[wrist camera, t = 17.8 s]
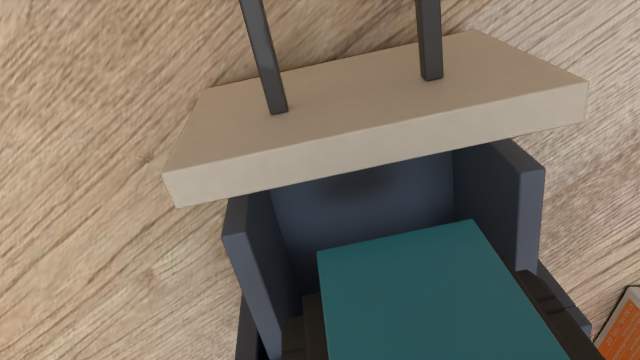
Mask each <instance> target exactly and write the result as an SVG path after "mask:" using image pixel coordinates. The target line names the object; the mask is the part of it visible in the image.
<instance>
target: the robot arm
mask: <svg viewBox="0 0 640 360" xmlns="http://www.w3.org/2000/svg"><path fill="white" fill-rule="evenodd" d="M499 258H500V259H501V260H502V262H503V263H504V265H505V266H506V268H507V269H508V271H509V272H510V273H511V275H512V276H513V278H514V279H515V281H516V282H517V283H518V285H519V286H520V288H521V289H522V291H523V292H524V294H525V295H526V296H527V298H528V299H529V301H530V302H531V304H532V305H533V307H534V308H535V309H536V311H537V312H538V314H539V315H540V317H541V318H542V319H543V321H544V322H545V324H546V325H547V327H548V328H549V330H550V331H551V332H552V334H553V335H554V337H555V338H556V340H557V341H558V342H559V344H560V345H561V347H562V348H563V350H564V351H565V353H566V354H567V355H568V357H569V358H570V360H606V359H605V358H604V357H603V356H602V354H601V353H600V352H599V351H598V349H597V348H596V347H595V345H594V344H593V343H592V342H591V340H590V339H589V338H588V336H587V335H586V334H585V333H584V331H583V330H582V329H581V327H580V326H579V325H578V324H577V322H576V321H575V320H574V318H573V317H572V316H571V315H570V313H569V312H568V311H566V310H565V307H564V306H563V304H562V303H561V302H560V300H559V299H558V298H556V296H555V294H554V293H553V291H552V290H551V289H550V288H549V286H548V285H547V284H546V282H545V281H544V280H542V279H541V278H539V277H538V276H536V275H535V274H533V273H532V272H530V271H529V270H527V269H525V270H521V271H515V270H514V268H513V267H512V265H511V264H510V263H509V261H508V260H507V258H506V257H505V256H503V255H500V256H499ZM281 351H282V354H281V360H329V356H328V347H327V339H326V330H325V322H324V314H323V305H322V297H321V292H320V293H315V294H310V295H305V296H303V315H300V316H295V317H291V318H288V320H287V322H286V324H285V327H284V329H283V331H282V334H281Z"/></svg>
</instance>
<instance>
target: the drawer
mask: <svg viewBox="0 0 640 360" xmlns="http://www.w3.org/2000/svg"><path fill="white" fill-rule="evenodd" d="M239 2H240V6H241V10H242V13H243V17H244V21H245V24H246V28H247V32H248V35H249V39H250V43H251V46H252V50H253V54H254V57H255V61H256V65H257V68H258V72H259V76H260V77H257V78H253V79H248V80H244V81H239V82H235V83H230V84H226V85H221V86H217V87H212V88H208V89H204V90H203V91H202V93H201V95H200V97H199V99H198V101H197V103H196V105H195V107H194V109H193V111H192V113H191V115H190V117H189V119H188V121H187V123H186V125H185V127H184V129H183V131H182V133H181V135H180V137H179V139H178V141H177V143H176V145H175V146H174V148H173V150H172V152H171V154H170V156H169V158H168V160H167V162H166V164H165V166H164V168H163V170H162V172H161V176H162V178H163V181H164V183H165V185H166V187H167V190H168V192H169V194H170V196H171V198H172V201H173V203H174V205H175V207H176V209H179V208H184V207H189V206H193V205H198V204H203V203H207V202H212V201H217V200H221V199H226V198H229V199H228V204H227V209H226V214H225V219H224V224H223V229H222V235H221V239H222V242H223V244H224V247H225V249H226V252H227V254H228V257H229V259H230V262H231V264H232V267H233V269H234V272H235V274H236V277H237V279H238V282H239V284H240V287H241V289H242V292H243V294H244V297H245V299H246V302H247V304H248V307H249V309H250V312H251V314H252V316H253V319H254V321H255V324H256V326H257V329H258V331H259V334H260V336H261V339H262V341H263V344H264V346H265V349H266V351H267V354H268V356H269V359H270V360H281V354H282V351H281V334H282V331H283V329H284V327H285V324H286V322H287V320H288V318H291V317H295V316H300V315H303V296H305V295H310V294H315V293H320V292H321V288H320V280H319V272H318V263H317V255H316V253H317V251H321V250H326V249H330V248H335V247H340V246H345V245H350V244H354V243H359V242H364V241H369V240H373V239H378V238H383V237H388V236H392V235H397V234H402V233H407V232H411V231H416V230H421V229H426V228H430V227H435V226H440V225H445V224H449V223H454V222H459V221H464V220H468V219H473V220H474V222H475V223H476V224H477V226H478V227H479V229H480V230H481V232H482V233H483V235H484V236H485V237H486V239H487V240H488V242H489V243H490V245H491V246H492V248H493V249H494V250H495V252H496V253H497V255H498V256H500V255H503V256H505V257H506V258H507V260H508V261H509V263H510V264H511V265H512V267H513V268H514V270H515V271H521V270H525V269H527V270H529V271H530V272H532V273H533V274H535V275H536V274H537V262H538V251H539V240H540V228H541V217H542V205H543V194H544V183H545V171H546V170H545V168H544V167H543V166H542V165H541V164H540V163H539V162H537V161H536V160H535V159H534V158H533V157H532V156H530V155H529V154H528V153H527V152H526V151H525V150H523V149H522V148H521V147H520V146H519V145H518V144H516V143H515V142H514V141H513V140H512V139H511V137H516V136H520V135H525V134H530V133H534V132H539V131H544V130H548V129H553V128H558V127H562V126H567V125H572V124H576V123H581V122H583V121H584V115H585V108H586V100H587V93H588V85H589V82H588V81H587V80H585V79H583V78H581V77H578V76H576V75H574V74H572V73H570V72H567V71H565V70H563V69H561V68H559V67H556V66H554V65H552V64H550V63H548V62H545V61H543V60H541V59H539V58H537V57H534V56H532V55H530V54H528V53H526V52H523V51H521V50H519V49H517V48H515V47H512V46H510V45H508V44H506V43H504V42H501V41H499V40H497V39H495V38H493V37H490V36H488V35H486V34H484V33H482V32H479V31H477V30H470V31H466V32H461V33H457V34H452V35H448V36H443V37H442V28H441V7H440V0H415V6H416V19H417V32H418V42H416V43H411V44H407V45H402V46H398V47H393V48H389V49H384V50H380V51H375V52H371V53H366V54H362V55H357V56H352V57H348V58H343V59H339V60H334V61H330V62H325V63H321V64H316V65H312V66H307V67H303V68H298V69H294V70H289V71H285V72H280V70H279V66H278V62H277V58H276V54H275V50H274V46H273V42H272V38H271V34H270V30H269V26H268V21H267V17H266V13H265V9H264V5H263V1H262V0H239Z"/></svg>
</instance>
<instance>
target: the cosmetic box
mask: <svg viewBox="0 0 640 360" xmlns="http://www.w3.org/2000/svg"><path fill="white" fill-rule="evenodd" d="M594 345H595V347H596V348H597V349H598V351H599V352H600V353H601V354H602V356H603V357H604V358H605V359H606V360H640V287H629V288H628V289H627V290H626V292H625V295H624V297H623V298H622V300H621V301H620V303H619V304H618V306H617V308H616V309H615V311H614V313H613V314H612V316H611V318H610V319H609V321H608V322H607V324H606V325H605V327H604V328H603V330H602V332H601V333H600V335H599V336H598V338H597V339H596V341H595V342H594Z"/></svg>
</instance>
